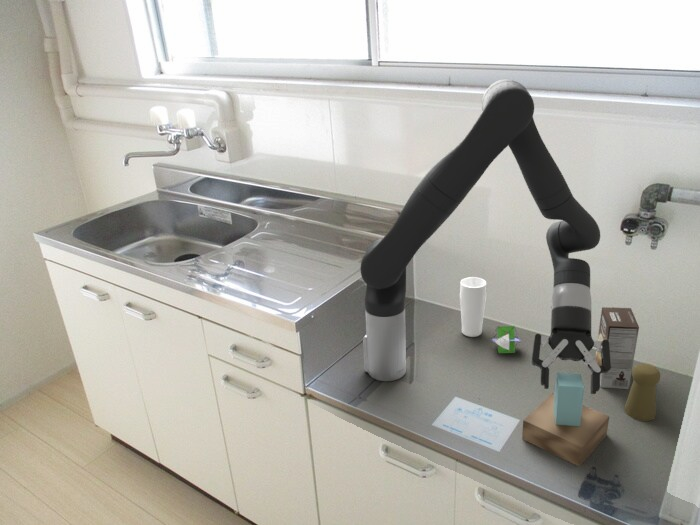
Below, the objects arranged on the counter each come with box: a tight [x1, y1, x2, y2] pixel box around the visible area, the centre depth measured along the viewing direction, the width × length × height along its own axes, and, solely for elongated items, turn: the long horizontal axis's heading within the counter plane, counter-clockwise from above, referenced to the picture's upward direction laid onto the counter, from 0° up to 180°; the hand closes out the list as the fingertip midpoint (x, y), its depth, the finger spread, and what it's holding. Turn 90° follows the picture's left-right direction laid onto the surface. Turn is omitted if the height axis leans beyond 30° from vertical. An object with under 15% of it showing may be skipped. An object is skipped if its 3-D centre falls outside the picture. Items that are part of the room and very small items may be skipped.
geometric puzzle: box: [490, 325, 522, 354], centre depth 148 cm, size 7×7×8 cm
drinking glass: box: [459, 276, 488, 338], centre depth 156 cm, size 7×7×15 cm
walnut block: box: [521, 392, 610, 467], centre depth 118 cm, size 12×12×5 cm
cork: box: [623, 363, 661, 422], centre depth 123 cm, size 6×6×11 cm
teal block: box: [553, 372, 585, 426], centre depth 115 cm, size 4×4×9 cm
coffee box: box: [594, 306, 640, 390], centre depth 134 cm, size 9×6×16 cm
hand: (569, 390), depth 113 cm, fingers open, 8 cm apart
